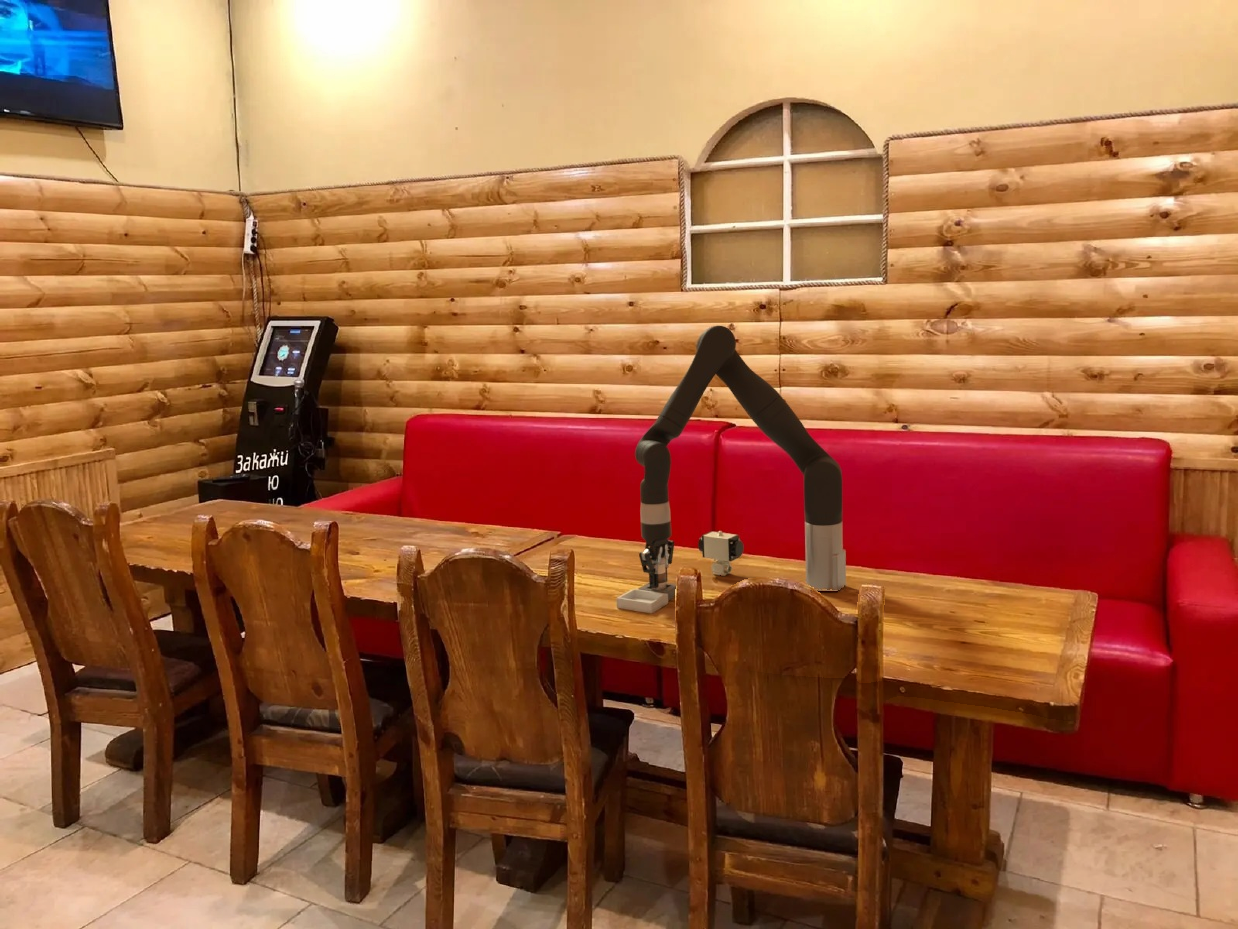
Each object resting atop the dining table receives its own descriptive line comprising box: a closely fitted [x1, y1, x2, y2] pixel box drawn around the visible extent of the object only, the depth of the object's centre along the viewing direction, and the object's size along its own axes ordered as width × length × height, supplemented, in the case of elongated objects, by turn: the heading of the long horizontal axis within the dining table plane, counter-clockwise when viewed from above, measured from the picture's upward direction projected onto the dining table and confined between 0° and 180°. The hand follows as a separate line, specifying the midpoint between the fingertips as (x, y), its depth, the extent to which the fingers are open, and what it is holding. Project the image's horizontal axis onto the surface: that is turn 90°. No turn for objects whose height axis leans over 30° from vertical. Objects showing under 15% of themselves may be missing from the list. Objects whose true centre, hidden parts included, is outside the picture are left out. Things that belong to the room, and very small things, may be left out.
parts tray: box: [615, 588, 669, 614], centre depth 234 cm, size 10×8×2 cm
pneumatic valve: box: [697, 530, 744, 577], centre depth 255 cm, size 6×12×12 cm, turn 53°
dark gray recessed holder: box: [637, 582, 676, 602], centre depth 240 cm, size 8×7×2 cm
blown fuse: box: [651, 557, 667, 591], centre depth 240 cm, size 4×4×10 cm
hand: (658, 584), depth 240 cm, fingers closed on blown fuse, 4 cm apart
